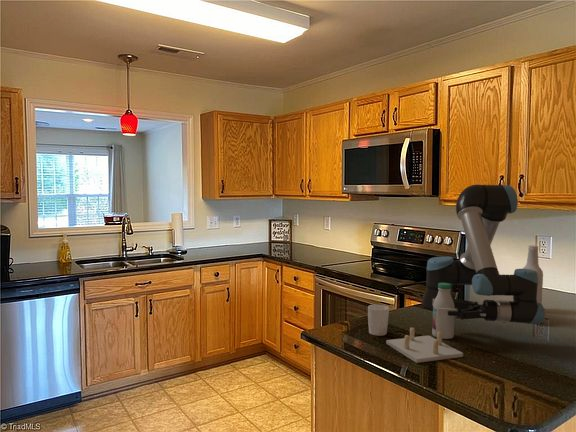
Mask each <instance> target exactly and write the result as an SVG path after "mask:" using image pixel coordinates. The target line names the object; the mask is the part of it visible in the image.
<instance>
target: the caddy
mask: <svg viewBox="0 0 576 432" xmlns="http://www.w3.org/2000/svg"><path fill="white" fill-rule="evenodd" d="M415 330H416V329H415V327H409V335H408V334H405V335H404V337H403V338H394V339H393V338H392V339H387V340H386V341H385V343H386V345H388V346H389V347H390V348H393V349H394V350H395V351H397V352H398V353H400V354H402V355H403V356H405V357H407V358H408V359H410V360H411V361H413V362H414V363H416V364H419V363H425V362H433V361H434V362H435V361H441V360H447V359H448V360H449V359H457V358H462V357H463V358H464V353H463V352H462V351H460V350H458V349H456V348H454V347H452V346H451V345H448V344H446V343H444V342H443V339H442V332H437V337H434V336H431V335H421V336H415V334H416V333H415Z"/></svg>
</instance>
